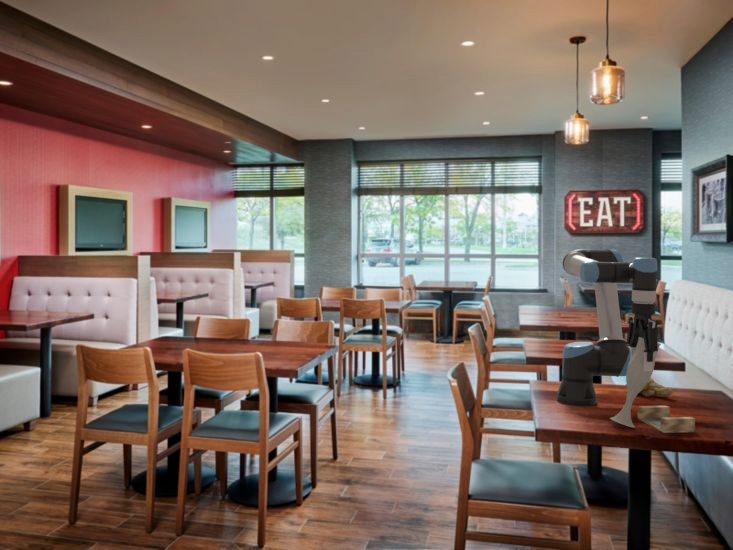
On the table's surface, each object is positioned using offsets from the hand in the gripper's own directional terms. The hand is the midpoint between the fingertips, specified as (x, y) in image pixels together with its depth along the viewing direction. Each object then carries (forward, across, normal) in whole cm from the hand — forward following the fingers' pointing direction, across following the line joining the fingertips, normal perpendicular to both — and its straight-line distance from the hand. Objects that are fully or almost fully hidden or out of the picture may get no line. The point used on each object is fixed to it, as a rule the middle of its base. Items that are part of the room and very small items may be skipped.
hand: (640, 368), depth 210 cm
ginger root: (+20, +42, -28) cm, 54 cm away
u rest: (+20, 0, -10) cm, 23 cm away
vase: (+19, 0, +6) cm, 20 cm away
